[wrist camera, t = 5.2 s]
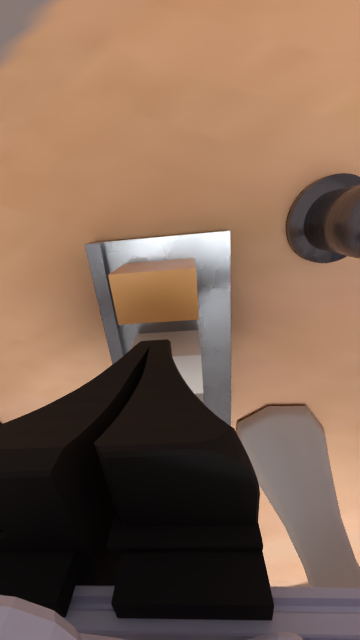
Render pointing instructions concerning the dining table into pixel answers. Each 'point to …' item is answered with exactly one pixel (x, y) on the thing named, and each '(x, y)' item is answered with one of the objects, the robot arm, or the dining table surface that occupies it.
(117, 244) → the panel
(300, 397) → the dining table surface
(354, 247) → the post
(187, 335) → the toggle mid
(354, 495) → the dining table surface
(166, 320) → the toggle orange
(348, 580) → the flask
